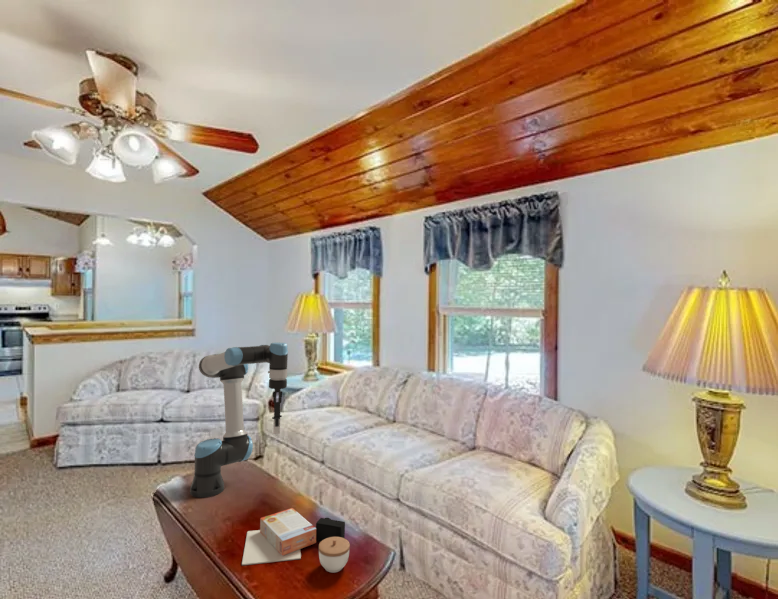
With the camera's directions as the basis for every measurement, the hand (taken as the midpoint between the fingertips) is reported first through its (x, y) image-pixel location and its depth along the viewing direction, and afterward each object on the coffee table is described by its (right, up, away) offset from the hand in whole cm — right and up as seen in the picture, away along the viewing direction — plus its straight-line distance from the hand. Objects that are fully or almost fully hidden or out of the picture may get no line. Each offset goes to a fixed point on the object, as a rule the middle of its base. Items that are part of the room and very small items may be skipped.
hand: (276, 433), depth 187 cm
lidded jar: (+29, -35, -37) cm, 59 cm away
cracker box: (+3, -31, -12) cm, 34 cm away
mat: (+5, -34, -25) cm, 43 cm away
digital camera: (+26, -35, -20) cm, 48 cm away
